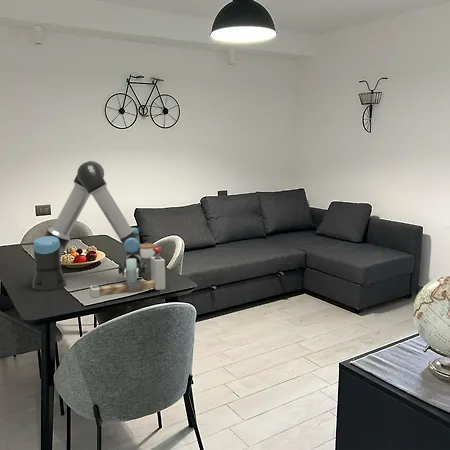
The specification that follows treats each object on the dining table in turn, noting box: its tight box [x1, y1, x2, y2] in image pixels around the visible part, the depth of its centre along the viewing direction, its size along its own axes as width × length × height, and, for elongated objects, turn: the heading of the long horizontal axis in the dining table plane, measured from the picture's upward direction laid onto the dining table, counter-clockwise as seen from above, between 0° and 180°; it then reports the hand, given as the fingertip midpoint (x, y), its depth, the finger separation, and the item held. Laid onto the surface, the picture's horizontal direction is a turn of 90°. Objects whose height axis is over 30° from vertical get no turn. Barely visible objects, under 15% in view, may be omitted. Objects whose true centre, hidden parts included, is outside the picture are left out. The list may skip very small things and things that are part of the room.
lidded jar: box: [140, 241, 156, 260], centre depth 279 cm, size 11×11×9 cm
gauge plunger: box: [153, 246, 162, 260], centre depth 218 cm, size 4×4×11 cm
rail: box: [98, 279, 155, 296], centre depth 214 cm, size 26×4×3 cm, turn 114°
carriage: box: [124, 258, 140, 290], centre depth 214 cm, size 5×6×13 cm
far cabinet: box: [150, 256, 166, 291], centre depth 219 cm, size 4×9×14 cm, turn 24°
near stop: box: [89, 284, 100, 299], centre depth 208 cm, size 3×7×4 cm, turn 24°
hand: (131, 274), depth 209 cm, fingers open, 5 cm apart
